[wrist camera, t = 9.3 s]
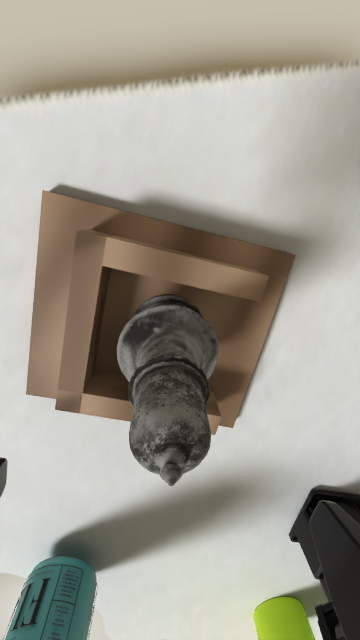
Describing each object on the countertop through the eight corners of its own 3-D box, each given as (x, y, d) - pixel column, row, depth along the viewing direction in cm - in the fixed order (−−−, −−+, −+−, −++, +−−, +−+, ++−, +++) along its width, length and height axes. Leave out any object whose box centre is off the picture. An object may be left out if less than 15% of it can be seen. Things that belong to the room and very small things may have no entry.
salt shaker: (202, 372, 20) (247, 557, 9) (121, 364, 20) (63, 550, 8) (216, 296, 19) (298, 408, 7) (129, 284, 18) (67, 385, 7)
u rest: (290, 254, 19) (320, 260, 15) (230, 421, 23) (243, 457, 19) (48, 191, 17) (16, 182, 13) (31, 388, 21) (3, 421, 17)
